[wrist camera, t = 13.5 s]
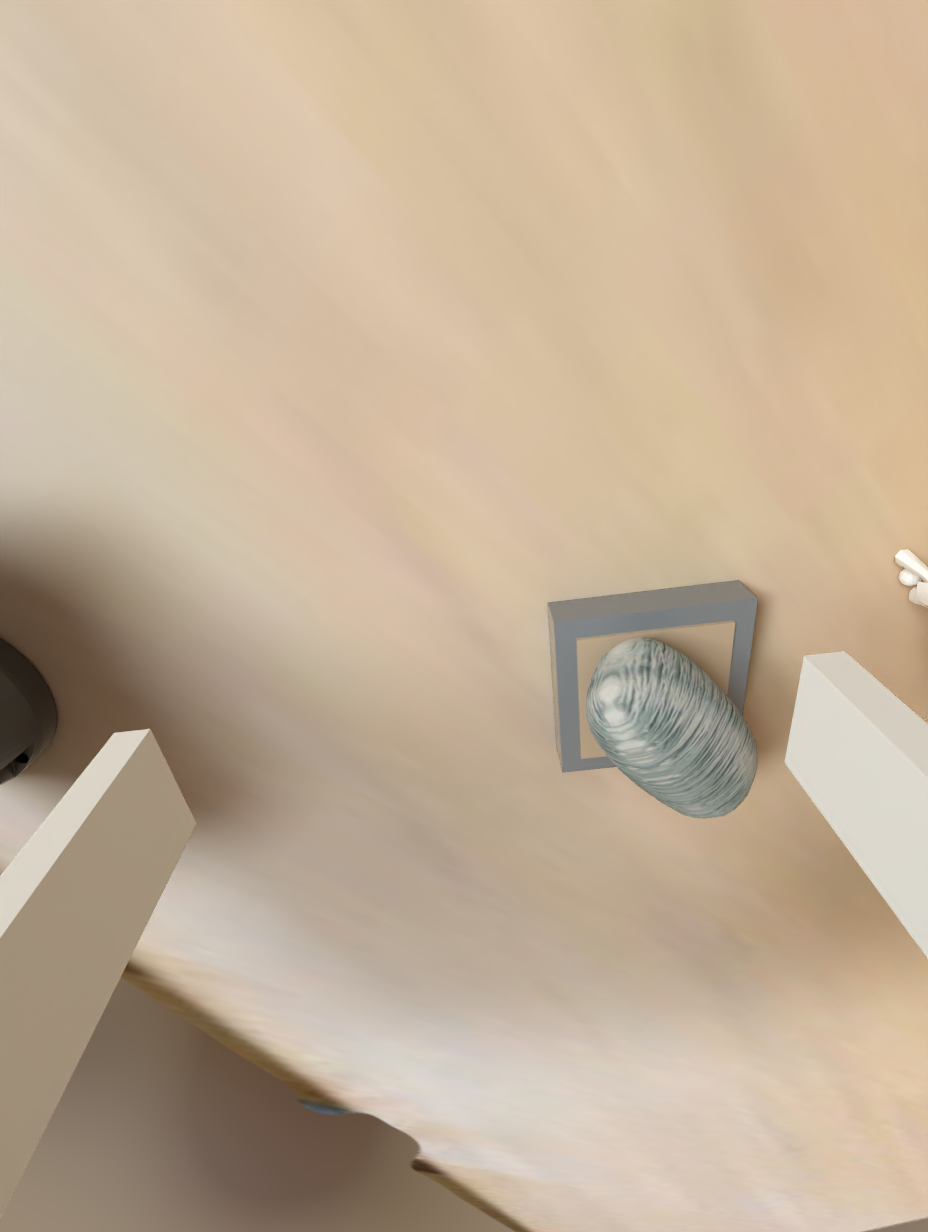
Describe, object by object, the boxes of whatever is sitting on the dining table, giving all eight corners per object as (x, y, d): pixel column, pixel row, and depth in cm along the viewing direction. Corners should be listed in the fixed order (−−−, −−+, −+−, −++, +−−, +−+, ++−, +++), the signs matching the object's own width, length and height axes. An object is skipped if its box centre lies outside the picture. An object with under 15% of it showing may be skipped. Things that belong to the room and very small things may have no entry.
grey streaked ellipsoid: (795, 745, 41) (782, 856, 34) (673, 764, 47) (640, 862, 40) (700, 588, 39) (665, 671, 31) (585, 631, 45) (534, 708, 38)
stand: (556, 747, 49) (563, 775, 46) (547, 602, 43) (554, 624, 40) (721, 729, 49) (739, 756, 46) (738, 580, 42) (760, 600, 39)
